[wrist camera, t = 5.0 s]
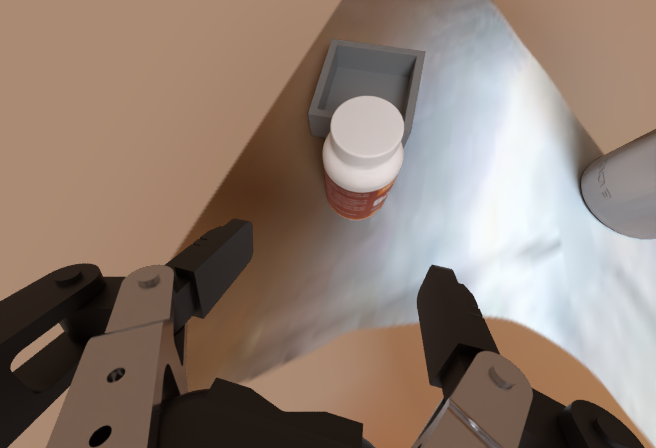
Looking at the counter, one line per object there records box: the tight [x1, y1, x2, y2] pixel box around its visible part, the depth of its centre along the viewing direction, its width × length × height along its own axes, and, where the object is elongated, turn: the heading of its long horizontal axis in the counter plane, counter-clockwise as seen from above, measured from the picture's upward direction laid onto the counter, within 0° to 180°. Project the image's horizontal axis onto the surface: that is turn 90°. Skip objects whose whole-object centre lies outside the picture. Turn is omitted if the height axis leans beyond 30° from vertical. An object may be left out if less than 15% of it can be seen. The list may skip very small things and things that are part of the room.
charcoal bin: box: [308, 39, 425, 149], centre depth 27 cm, size 11×11×4 cm
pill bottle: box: [323, 96, 404, 220], centre depth 20 cm, size 6×6×11 cm
